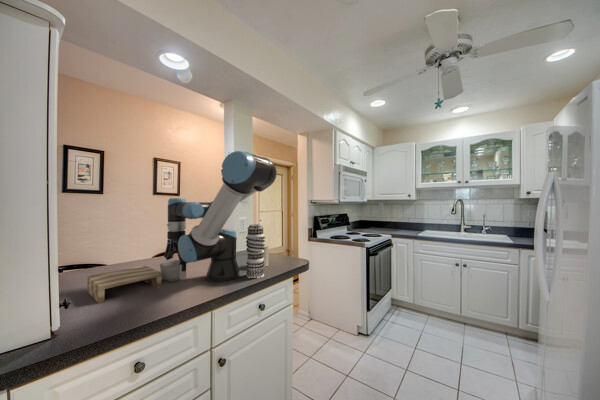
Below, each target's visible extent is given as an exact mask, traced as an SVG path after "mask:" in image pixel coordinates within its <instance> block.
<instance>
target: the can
mask: <svg viewBox="0 0 600 400" xmlns="http://www.w3.org/2000/svg"><path fill="white" fill-rule="evenodd" d="M263 247H264V249H263V250H264V252H263V258H264V260H263V261H264V263H263V264H264V266H263V267H265V266H268V265H269V245H268V244H265V245H264V246H263ZM268 267H269V266H268ZM265 268H266V267H265Z"/></svg>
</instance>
